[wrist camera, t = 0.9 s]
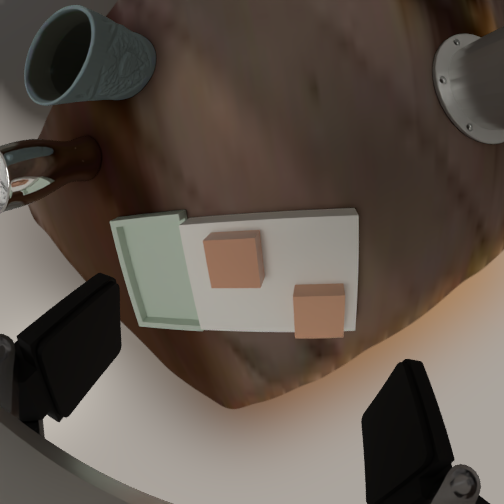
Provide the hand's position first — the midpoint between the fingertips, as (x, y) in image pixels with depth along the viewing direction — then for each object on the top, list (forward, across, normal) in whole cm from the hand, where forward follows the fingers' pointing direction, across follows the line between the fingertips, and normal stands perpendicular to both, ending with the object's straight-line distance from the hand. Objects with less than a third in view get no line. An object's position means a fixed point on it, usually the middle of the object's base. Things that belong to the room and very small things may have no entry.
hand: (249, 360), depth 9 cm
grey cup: (+24, +23, -12) cm, 35 cm away
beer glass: (+24, +27, 0) cm, 36 cm away
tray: (+24, +13, +12) cm, 30 cm away
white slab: (+24, 0, +8) cm, 25 cm away
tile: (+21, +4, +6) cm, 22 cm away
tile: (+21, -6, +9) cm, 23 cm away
